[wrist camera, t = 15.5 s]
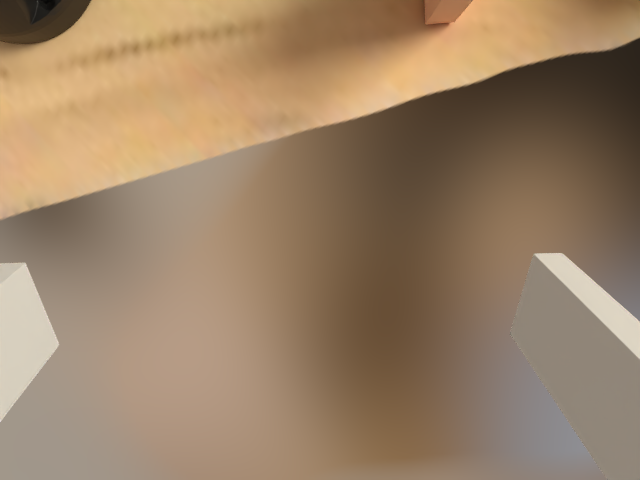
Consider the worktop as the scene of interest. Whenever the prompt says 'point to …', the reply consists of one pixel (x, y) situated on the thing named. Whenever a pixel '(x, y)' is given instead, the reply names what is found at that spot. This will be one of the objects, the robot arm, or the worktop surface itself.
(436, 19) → the stub
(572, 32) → the worktop surface
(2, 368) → the robot arm
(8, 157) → the worktop surface
